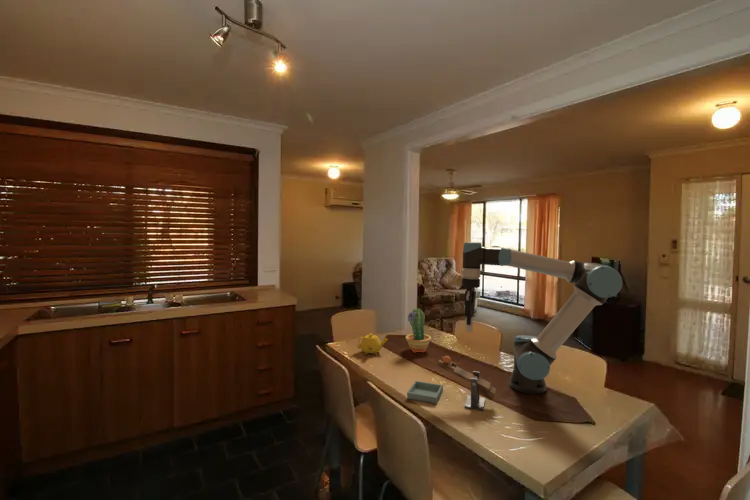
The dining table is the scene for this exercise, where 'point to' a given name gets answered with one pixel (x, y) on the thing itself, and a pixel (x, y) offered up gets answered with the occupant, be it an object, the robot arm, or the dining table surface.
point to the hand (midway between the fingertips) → (468, 331)
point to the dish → (425, 392)
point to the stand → (475, 395)
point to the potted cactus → (417, 332)
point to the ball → (446, 360)
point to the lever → (483, 384)
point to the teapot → (371, 344)
